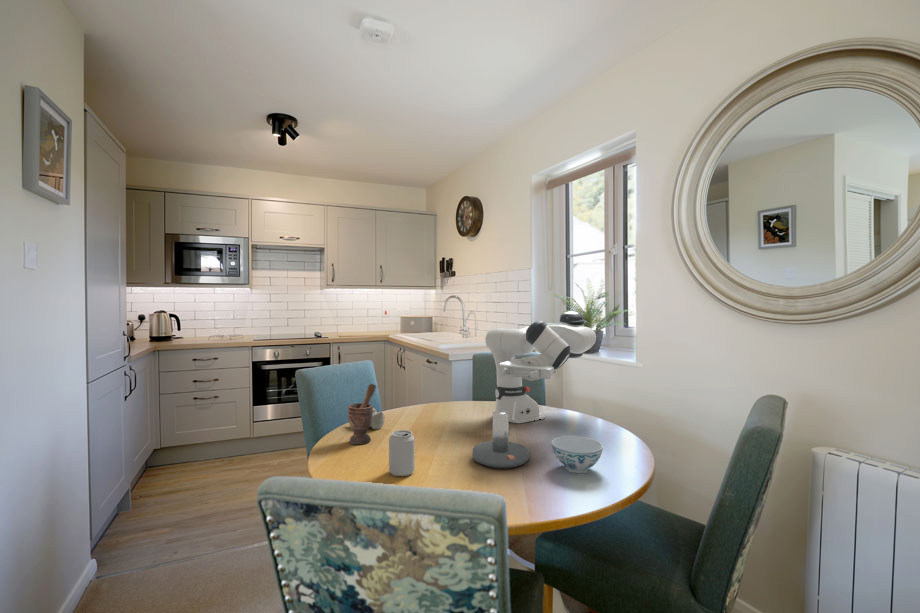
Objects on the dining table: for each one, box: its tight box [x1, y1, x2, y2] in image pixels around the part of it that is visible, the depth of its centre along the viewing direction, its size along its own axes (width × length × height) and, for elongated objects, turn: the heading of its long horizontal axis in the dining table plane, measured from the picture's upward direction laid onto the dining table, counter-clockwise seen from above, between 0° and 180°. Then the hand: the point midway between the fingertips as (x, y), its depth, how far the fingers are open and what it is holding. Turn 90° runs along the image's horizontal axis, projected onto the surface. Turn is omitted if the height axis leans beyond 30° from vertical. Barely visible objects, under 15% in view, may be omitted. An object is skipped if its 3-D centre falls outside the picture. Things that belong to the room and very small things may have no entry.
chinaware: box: [551, 435, 604, 474], centre depth 129 cm, size 15×15×8 cm
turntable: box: [472, 440, 530, 468], centre depth 136 cm, size 18×18×3 cm
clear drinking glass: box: [492, 410, 509, 453], centre depth 136 cm, size 5×5×12 cm
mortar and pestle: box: [347, 383, 377, 445], centre depth 156 cm, size 12×9×20 cm
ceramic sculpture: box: [369, 406, 385, 430], centre depth 172 cm, size 11×9×15 cm
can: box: [388, 429, 416, 478], centre depth 126 cm, size 8×8×12 cm
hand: (516, 373), depth 146 cm, fingers open, 8 cm apart
